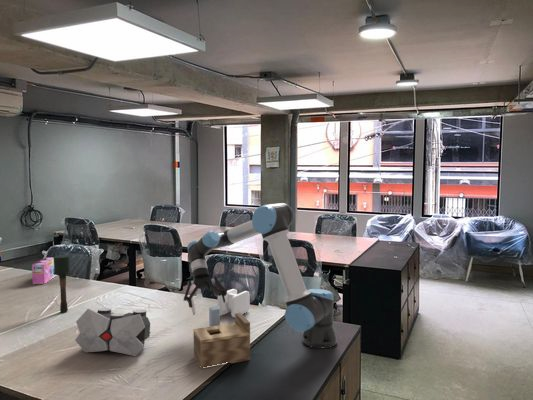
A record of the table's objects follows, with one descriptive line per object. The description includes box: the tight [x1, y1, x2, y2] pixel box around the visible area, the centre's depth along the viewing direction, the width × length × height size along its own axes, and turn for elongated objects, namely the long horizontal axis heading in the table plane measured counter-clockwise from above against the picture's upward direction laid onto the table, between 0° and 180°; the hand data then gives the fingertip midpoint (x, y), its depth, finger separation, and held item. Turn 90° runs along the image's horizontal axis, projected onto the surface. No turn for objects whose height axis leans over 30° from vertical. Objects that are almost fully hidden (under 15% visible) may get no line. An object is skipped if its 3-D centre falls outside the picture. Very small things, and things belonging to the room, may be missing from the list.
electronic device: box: [74, 307, 151, 357], centre depth 179 cm, size 18×21×30 cm
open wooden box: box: [193, 332, 251, 369], centre depth 170 cm, size 20×12×10 cm, turn 113°
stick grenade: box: [53, 254, 72, 314], centre depth 223 cm, size 8×9×30 cm
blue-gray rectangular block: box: [208, 306, 221, 327], centre depth 184 cm, size 4×4×16 cm
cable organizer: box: [217, 288, 251, 318], centre depth 221 cm, size 15×11×12 cm
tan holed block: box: [193, 313, 251, 343], centre depth 170 cm, size 20×12×5 cm, turn 113°
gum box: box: [31, 256, 59, 285], centre depth 286 cm, size 24×8×14 cm, turn 4°
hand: (209, 311), depth 190 cm, fingers open, 13 cm apart
